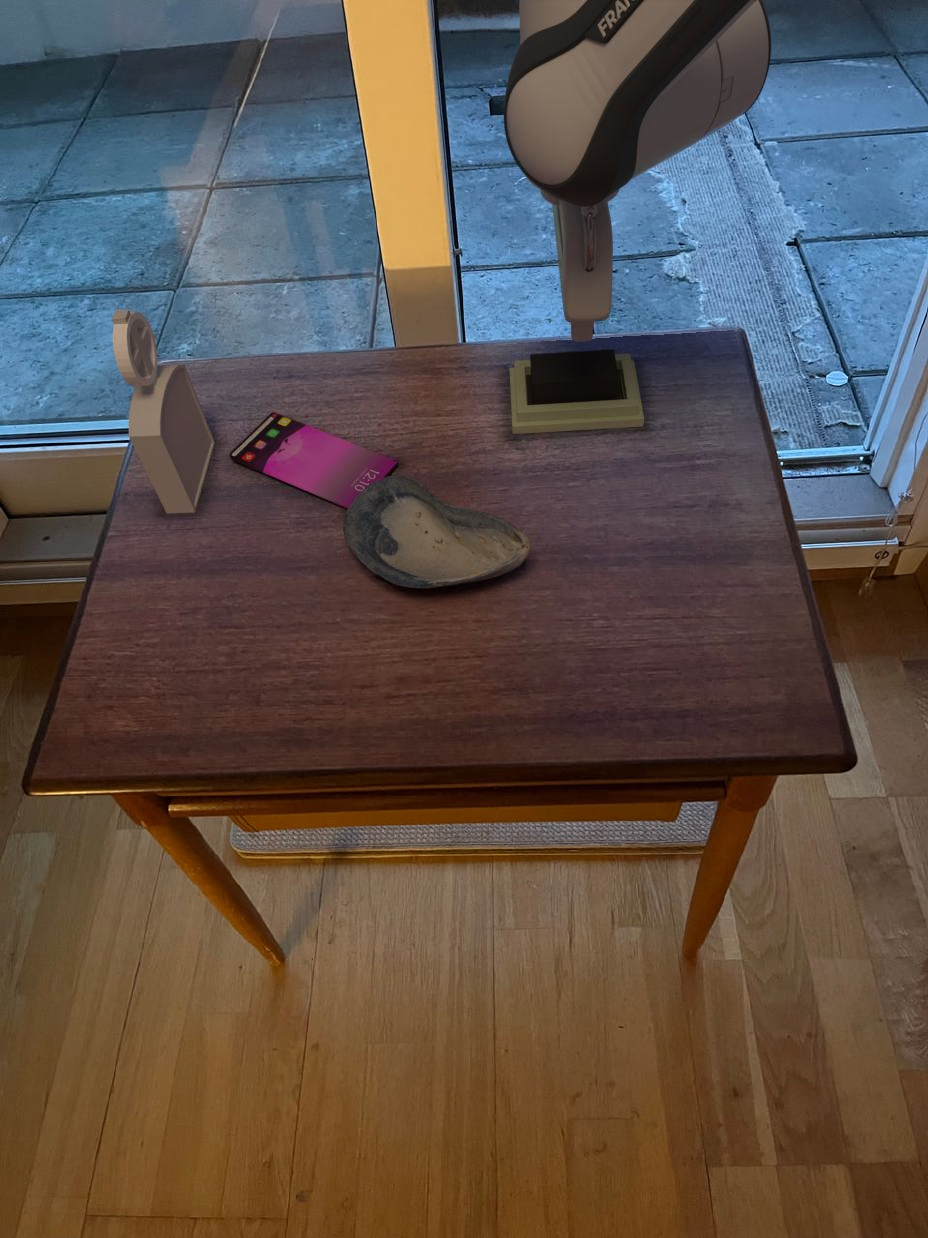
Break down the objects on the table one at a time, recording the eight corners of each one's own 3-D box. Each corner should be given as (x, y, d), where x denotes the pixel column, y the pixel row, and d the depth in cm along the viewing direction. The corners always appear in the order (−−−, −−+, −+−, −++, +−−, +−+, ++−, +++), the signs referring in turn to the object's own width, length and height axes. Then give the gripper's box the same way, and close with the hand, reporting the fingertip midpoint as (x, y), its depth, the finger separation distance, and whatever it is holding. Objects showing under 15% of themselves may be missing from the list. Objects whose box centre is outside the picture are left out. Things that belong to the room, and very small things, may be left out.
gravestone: (215, 442, 90) (151, 279, 76) (195, 512, 84) (121, 350, 70) (188, 443, 90) (119, 280, 76) (166, 513, 85) (87, 351, 70)
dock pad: (633, 367, 92) (634, 349, 90) (643, 426, 87) (645, 408, 85) (509, 375, 93) (509, 357, 91) (512, 434, 87) (511, 416, 86)
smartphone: (276, 417, 91) (273, 410, 91) (400, 463, 86) (399, 456, 85) (229, 462, 88) (227, 455, 87) (356, 514, 82) (354, 507, 82)
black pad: (612, 373, 90) (614, 348, 87) (617, 403, 87) (618, 377, 85) (530, 379, 90) (530, 353, 88) (532, 408, 88) (532, 383, 85)
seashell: (515, 492, 83) (513, 451, 79) (535, 600, 75) (534, 560, 71) (347, 513, 83) (337, 473, 79) (350, 623, 75) (339, 584, 71)
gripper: (637, 215, 64) (625, 376, 75) (610, 83, 76) (603, 238, 87) (546, 221, 64) (547, 381, 75) (533, 90, 76) (536, 243, 87)
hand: (577, 303), depth 81 cm, fingers open, 8 cm apart
